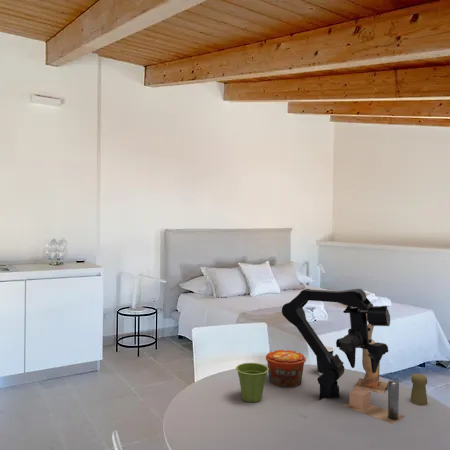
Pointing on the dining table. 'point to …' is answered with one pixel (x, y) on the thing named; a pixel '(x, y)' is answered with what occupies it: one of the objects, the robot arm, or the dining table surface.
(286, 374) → the food container
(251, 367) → the plant pot
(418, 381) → the cork
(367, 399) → the cube
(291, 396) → the dining table surface
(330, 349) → the dixie cup
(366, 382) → the bird sculpture
